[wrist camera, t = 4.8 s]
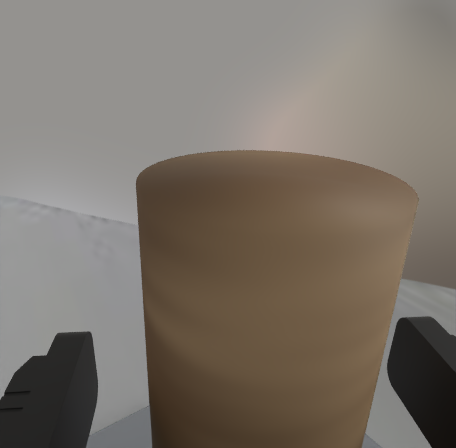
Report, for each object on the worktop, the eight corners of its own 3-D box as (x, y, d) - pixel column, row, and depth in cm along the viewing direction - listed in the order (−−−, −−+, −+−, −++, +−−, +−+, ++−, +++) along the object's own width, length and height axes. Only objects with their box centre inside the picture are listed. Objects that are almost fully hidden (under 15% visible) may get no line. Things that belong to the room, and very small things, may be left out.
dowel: (352, 619, 12) (475, 192, 7) (223, 778, 9) (257, 270, 4) (250, 487, 16) (278, 143, 11) (136, 574, 13) (94, 165, 8)
